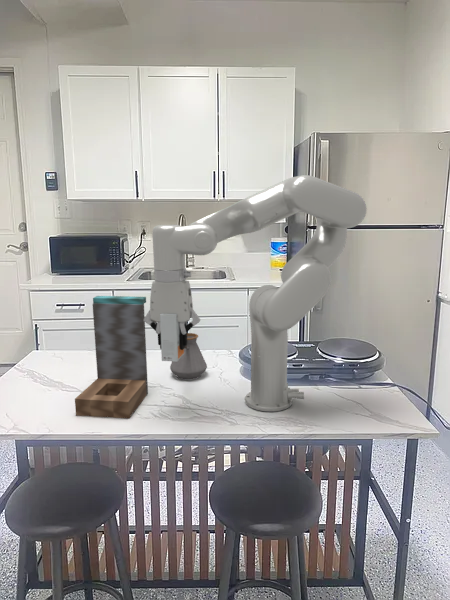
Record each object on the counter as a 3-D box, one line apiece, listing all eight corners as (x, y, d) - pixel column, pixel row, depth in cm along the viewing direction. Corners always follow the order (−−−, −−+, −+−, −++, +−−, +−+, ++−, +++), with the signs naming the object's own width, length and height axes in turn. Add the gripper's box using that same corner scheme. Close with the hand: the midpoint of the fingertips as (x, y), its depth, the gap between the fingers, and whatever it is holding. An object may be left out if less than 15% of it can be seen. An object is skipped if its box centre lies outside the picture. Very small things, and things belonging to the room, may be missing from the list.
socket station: (150, 390, 129) (145, 296, 124) (129, 418, 112) (123, 311, 107) (103, 388, 131) (97, 295, 126) (76, 415, 114) (67, 309, 109)
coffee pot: (172, 368, 147) (171, 324, 144) (208, 368, 147) (207, 324, 144) (163, 395, 126) (161, 344, 123) (204, 395, 126) (203, 344, 123)
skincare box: (178, 362, 111) (176, 314, 108) (161, 361, 112) (159, 314, 109) (185, 354, 116) (183, 309, 114) (169, 353, 117) (167, 308, 115)
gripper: (206, 274, 112) (208, 344, 116) (141, 273, 115) (145, 342, 118) (201, 278, 105) (203, 353, 109) (131, 278, 107) (135, 351, 111)
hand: (172, 347), depth 113 cm, fingers closed on skincare box, 4 cm apart
